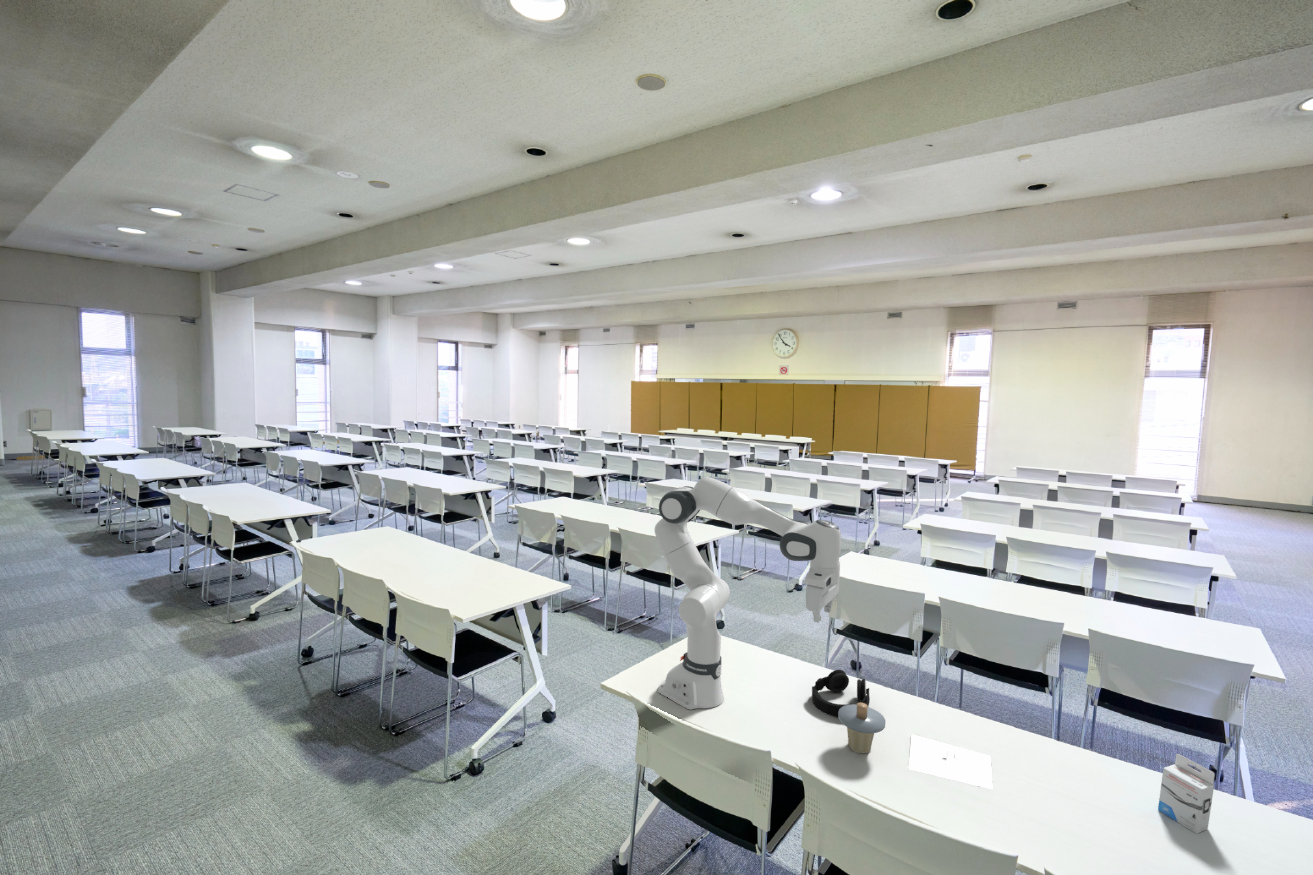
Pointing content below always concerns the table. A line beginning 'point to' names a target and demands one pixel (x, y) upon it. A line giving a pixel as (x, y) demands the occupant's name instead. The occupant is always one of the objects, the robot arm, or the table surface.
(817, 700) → the headphones
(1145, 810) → the table surface
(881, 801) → the table surface
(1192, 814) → the ink box
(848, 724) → the lid
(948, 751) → the paper sheet
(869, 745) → the flower pot
